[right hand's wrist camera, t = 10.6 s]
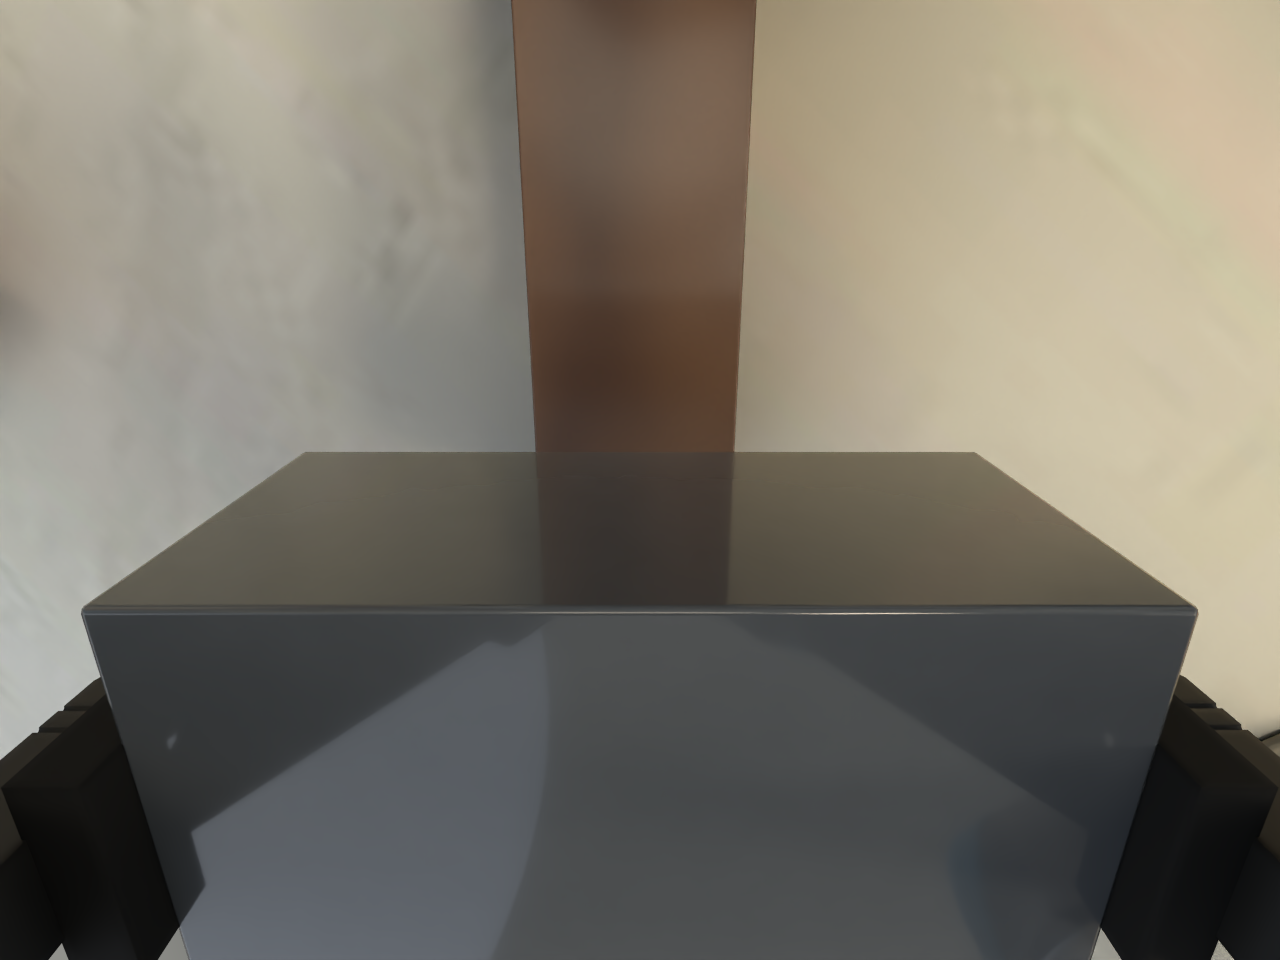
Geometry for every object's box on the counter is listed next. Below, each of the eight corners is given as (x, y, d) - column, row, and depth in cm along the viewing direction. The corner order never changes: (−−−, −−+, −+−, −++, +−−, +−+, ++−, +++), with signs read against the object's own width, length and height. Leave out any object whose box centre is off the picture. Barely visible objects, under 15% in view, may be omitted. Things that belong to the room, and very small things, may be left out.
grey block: (976, 450, 12) (1205, 608, 7) (925, 747, 14) (1074, 1023, 9) (303, 450, 12) (74, 608, 7) (354, 747, 14) (205, 1023, 9)
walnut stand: (737, -410, 24) (793, -751, 15) (706, 483, 35) (728, 568, 27) (529, -411, 24) (469, -753, 15) (564, 483, 35) (542, 569, 27)
